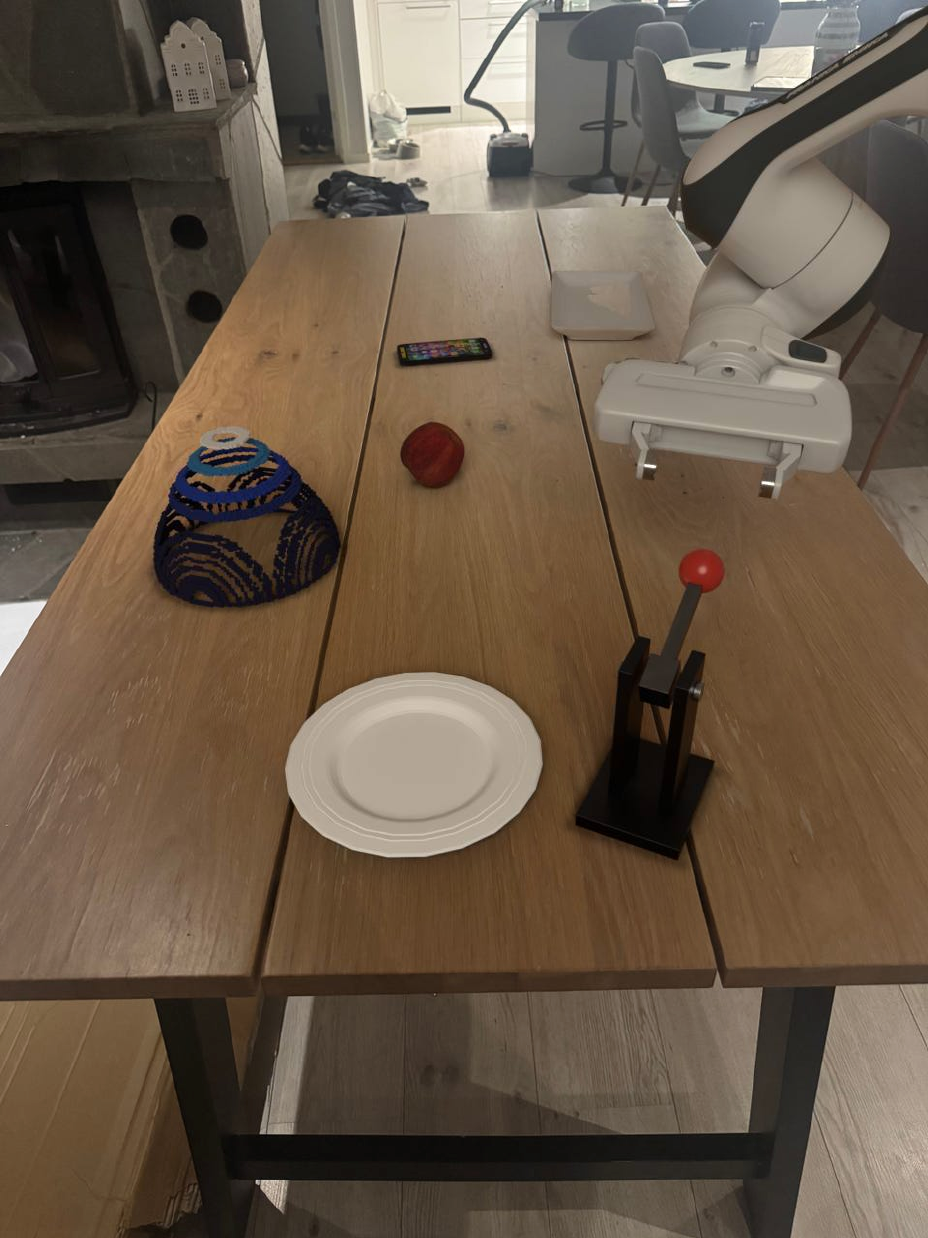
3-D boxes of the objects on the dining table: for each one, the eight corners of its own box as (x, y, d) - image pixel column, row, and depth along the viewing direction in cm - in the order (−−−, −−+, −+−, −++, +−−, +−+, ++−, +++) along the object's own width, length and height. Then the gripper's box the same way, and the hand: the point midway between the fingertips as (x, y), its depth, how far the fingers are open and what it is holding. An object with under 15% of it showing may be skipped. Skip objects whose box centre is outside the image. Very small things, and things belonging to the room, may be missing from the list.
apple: (457, 500, 112) (454, 439, 107) (395, 495, 113) (390, 435, 109) (470, 471, 118) (468, 412, 113) (411, 467, 119) (406, 409, 114)
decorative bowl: (288, 621, 93) (265, 495, 85) (120, 590, 99) (82, 469, 90) (367, 523, 108) (354, 407, 100) (217, 501, 114) (193, 389, 105)
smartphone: (493, 353, 147) (399, 361, 146) (493, 359, 148) (400, 367, 146) (486, 336, 154) (395, 344, 152) (486, 342, 154) (396, 349, 153)
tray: (640, 287, 175) (642, 268, 173) (654, 347, 150) (656, 326, 148) (550, 288, 177) (551, 269, 174) (549, 347, 151) (550, 326, 149)
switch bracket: (618, 741, 78) (630, 609, 70) (713, 771, 75) (737, 635, 67) (575, 825, 71) (582, 688, 63) (677, 861, 68) (699, 722, 60)
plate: (519, 675, 85) (519, 659, 84) (566, 854, 69) (567, 837, 67) (291, 699, 84) (288, 683, 82) (283, 889, 67) (279, 872, 66)
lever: (686, 561, 73) (685, 535, 70) (729, 571, 71) (730, 544, 69) (631, 702, 67) (629, 679, 64) (677, 715, 66) (677, 692, 63)
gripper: (610, 326, 79) (575, 433, 71) (861, 355, 75) (854, 472, 67) (606, 386, 84) (573, 491, 76) (842, 416, 80) (832, 532, 72)
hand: (706, 483), depth 72 cm, fingers open, 8 cm apart
